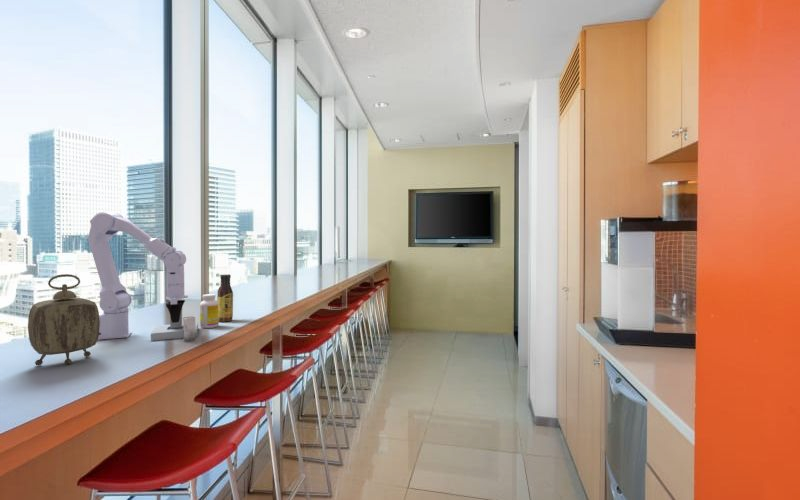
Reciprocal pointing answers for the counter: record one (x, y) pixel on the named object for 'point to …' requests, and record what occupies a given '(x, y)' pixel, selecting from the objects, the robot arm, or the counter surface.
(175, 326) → the square bit
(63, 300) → the tabletop clock
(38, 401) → the counter surface
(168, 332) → the bore block
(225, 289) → the sauce bottle
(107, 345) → the counter surface
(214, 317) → the supplement bottle
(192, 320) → the round bit
